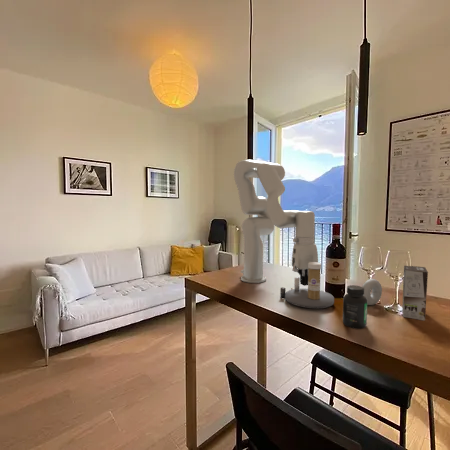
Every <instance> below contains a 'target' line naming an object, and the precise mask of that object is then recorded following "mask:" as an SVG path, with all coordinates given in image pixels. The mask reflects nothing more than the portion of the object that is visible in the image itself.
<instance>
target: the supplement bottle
mask: <svg viewBox="0 0 450 450" xmlns="http://www.w3.org/2000/svg"><path fill="white" fill-rule="evenodd" d="M363 295H364V288H363V287H362V286H360V285H351V284H350V285H347V287H346V294H344V296H343V297H342V298H343V300H342V306H343V307H342V323H343V325H345V326H346V327H347V328H352V329H355V330H362V329H364V328H366V327H367V323H368V322H367V320H368V305H367V298H366V297H365V296H363Z"/></svg>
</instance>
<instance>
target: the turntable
mask: <svg viewBox="0 0 450 450" xmlns="http://www.w3.org/2000/svg"><path fill="white" fill-rule="evenodd" d="M284 300H286V301H287V302H288V303H289V304H291V305H294V306H297V307H302V308H308V309H324V308H329V307H331V306H333V305H334V304H335V297H334V296H333V295H332V294H331V293H329V292H327V291H324V290H320V299H318V300H313V299H310V298H308V288H300V276H299V277H298V276H294V286H293V287H290V289H289V290H287V291H285V299H284Z"/></svg>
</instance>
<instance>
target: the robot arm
mask: <svg viewBox="0 0 450 450" xmlns="http://www.w3.org/2000/svg"><path fill="white" fill-rule="evenodd" d="M285 176H286V171H285V167H284V166H283V165H281V164H279V163H273V162H267V161H259V160H253V159H242V160H240V161H238V162H237V163H236V164H235V166H234V169H233V178H234V179H233V180H234V182H235V185H236V188H237V191H238V196H239V197H238V198H239V202H240V203H239V204H240V208H241V212H242V213H243V214H244V215H246V216H250V217H247V218H246V219H244V220H243V221H242V224H241V231H242V236H243V237H242V238H243V268H242V269H241V270H240V273H242V276H241V277H240V281H242V282H244V283H249V284H251V283H252V284H260V283H264V282H266V281H267V277H266V276H265V275H264V244H263V241H262V236H268V235H271V234H272V233H273V232H274V230H275V227H277V229H278V228H279V229H287V228H288V229H293V228H295V231H294V233H295V237H294V238H293V239H292V242H293V243H294V244H293V248H292V254H291V266H292V271H293V272H295V273H297V274H298V276H299V278H300V281H299V285H302V286H306V287H307V286H308V272H309V269H308V263H309V262H318V263H319V255H318V254H319V253H318V247H317V244H316V243H315V227H316V226H315V223H316V221H315V220H316V219H315V217H316V216H315V212H314V211H311V210H298V209H297V210H296V209H291V210H290V209H288V210H287V209H286V210H285V209H283V207H282V206H281V203H280V202H279V197H281V196H282V195H283V194H284V192H285V191H286V187H285V185H284V183H283V181H282V180H284V178H285ZM250 178H253V179H259V181H260V183H261V185H262V187H263V189H264V192H265V193H266V195H267V197H264V196H257V193H256V189H255V186H254V184H253V182H252V180H250Z"/></svg>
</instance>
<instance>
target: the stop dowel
mask: <svg viewBox="0 0 450 450" xmlns="http://www.w3.org/2000/svg"><path fill="white" fill-rule="evenodd" d="M279 290H280V293H279V294H280V296H279V298H280V299H282V300H286V299H285V293H286V292H287V291H286V288H285V287H280V289H279Z"/></svg>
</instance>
